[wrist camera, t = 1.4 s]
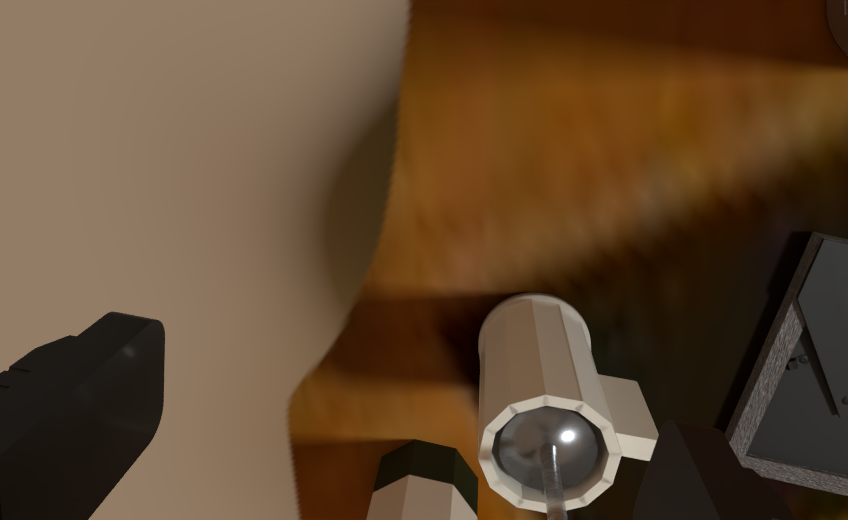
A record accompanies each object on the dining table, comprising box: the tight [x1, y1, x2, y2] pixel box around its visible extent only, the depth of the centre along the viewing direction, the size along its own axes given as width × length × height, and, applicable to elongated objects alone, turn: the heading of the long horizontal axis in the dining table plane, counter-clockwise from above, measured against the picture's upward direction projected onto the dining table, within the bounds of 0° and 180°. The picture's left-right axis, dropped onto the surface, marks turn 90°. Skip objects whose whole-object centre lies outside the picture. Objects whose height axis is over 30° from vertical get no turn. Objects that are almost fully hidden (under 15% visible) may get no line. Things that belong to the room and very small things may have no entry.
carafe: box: [478, 292, 659, 513], centre depth 40 cm, size 10×8×13 cm
